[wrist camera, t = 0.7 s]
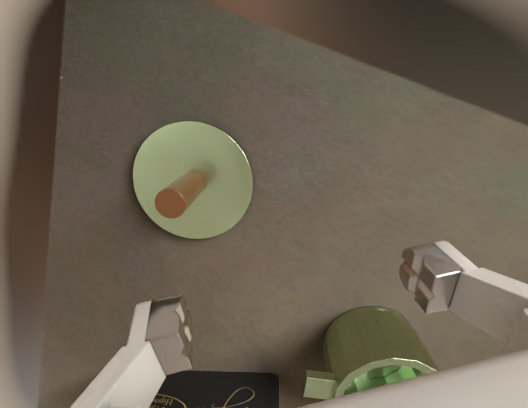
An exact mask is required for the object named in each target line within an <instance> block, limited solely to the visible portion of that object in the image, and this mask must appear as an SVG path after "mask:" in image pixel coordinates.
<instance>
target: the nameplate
mask: <svg viewBox="0 0 528 408" xmlns="http://www.w3.org/2000/svg"><path fill="white" fill-rule="evenodd" d="M149 408H279V380H278V377H277V376H276V375H275V374H272V373H245V372H206V371H181V372H177V373H173V374H169V375H166V378H165V380H164V382H163V383H162V385H161V387H160V389H159V391H158V392H157V394H156V396H155V398H154V399H153V401H152V403H151V405H150V407H149Z"/></svg>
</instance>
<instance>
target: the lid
mask: <svg viewBox="0 0 528 408" xmlns="http://www.w3.org/2000/svg"><path fill="white" fill-rule="evenodd" d="M133 184H134V189H135V193H136V196H137V198H138V201H139V203H140V205H141V206H142V208H143V209H144V211H145V212H146V214H147V215H148V216H149V217H150V218H151V219H152V220H153V221H154V222H155V223H156V224H157V225H159V226H160V227H161V228H163V229H165V230H166V231H168V232H170V233H172V234H175V235H177V236H181V237H185V238H191V239H205V238H210V237H214V236H217V235H220V234H222V233H224V232H226V231H228V230H229V229H231V228H232V227H233V226H234V225H236V224H237V223H238V222H239V220H240V219H241V218H242V217H243V215H244V214H245V212H246V210H247V208H248V206H249V204H250V201H251V197H252V192H253V175H252V170H251V166H250V163H249V161H248V158H247V157H246V155H245V153H244V151H243V150H242V148H241V147H240V145H239V144H238V143H237V142H236V141H235V140H234V139H233V138H232V137H231V136H230V135H228V134H227V133H226V132H224V131H223V130H221V129H219V128H217V127H215V126H213V125H210V124H207V123H204V122H198V121H179V122H175V123H171V124H168V125H165V126H163V127H161V128H159V129H158V130H156V131H155V132H153V133H152V134H151V135H150V136H149V137H148V138H147V139H146V140H145V141H144V143H143V144H142V145H141V147H140V149H139V151H138V153H137V155H136V158H135V161H134V167H133Z"/></svg>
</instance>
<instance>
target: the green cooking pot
mask: <svg viewBox="0 0 528 408" xmlns="http://www.w3.org/2000/svg"><path fill="white" fill-rule="evenodd" d="M322 352H323V357H324V363H325V368H326V372H322V371H314V370H306V372H305V377H304V382H303V387H302V391H303V397H309V398H317V399H325V400H328V399H332V398H336V397H340V396H343V395H347V394H351V393H355V392H359V391H363V390H367V389H371V388H374V387H378V386H382V385H386V384H390V383H394V382H398V381H402V380H406V379H410V378H414V377H417V376H421V375H425V374H429V373H433V372H437V371H440V370H439V369H438V367H437V365H436V364H435V362H434V361H433V359H432V357H431V356H430V354H429V352H428V351H427V349H426V347H425V346H424V344H423V343H422V341H421V339H420V338H419V336H418V334H417V333H416V331H415V330H414V329H413V327H412V326H411V324H410V323H409V322H408V321H407V319H406V318H404V317H403V316H402V315H400V314H399V313H397V312H395V311H393V310H391V309H387V308H383V307H376V306H367V307H360V308H356V309H353V310H350V311H348V312H346V313H344V314H342V315H341V316H339V317H338V318H337V319H336V320H335V321H333V323H332V324H331V325H330V326H329V328H328V329H327V331H326V333H325V335H324V339H323V349H322Z"/></svg>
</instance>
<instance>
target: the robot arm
mask: <svg viewBox="0 0 528 408" xmlns="http://www.w3.org/2000/svg"><path fill="white" fill-rule="evenodd" d="M402 257H403V259H404V260H405V261H404V262H403V263H402V264H401V265H400V271H399V273H400V278H401V281H402V283H403V285H404V286H405V288H406V289H407V290H408V291H410V292H412V293H414V294H415V300H416V302H417V303H418V304H419V305H420V307H421V308H422V309H423V310H424V312H425V313H426V314H429V313H434V312H439V311H444V310H448V309H449V311H450V312H452V313H453V314H455V315H457V316H458V317H460V318H462V319H463V320H465V321H467V322H468V323H470V324H472V325H473V326H475V327H477V328H478V329H480V330H482V331H483V332H485V333H487V334H488V335H490V336H491V337H493V338H495V339H496V340H498V341H500V342H501V343H503V344H505V347H504V349H503V351H502V353H501V355H499V356H496V357H492V358H488V359H484V360H480V361H476V362H472V363H468V364H464V365H460V366H457V367H453V368H449V369H445V370H441V371H437V372H433V373H429V374H425V375H421V376H417V377H414V378H410V379H406V380H402V381H398V382H394V383H390V384H386V385H382V386H378V387H374V388H371V389H367V390H363V391H359V392H355V393H351V394H347V395H343V396H340V397H336V398H332V399H328V400H324V401H320V402H316V403H312V404H308V405H305V406H301V407H297V408H528V284H525V283H523V282H520V281H517V280H515V279H512V278H509V277H506V276H504V275H501V274H498V273H496V272H493V271H490V270H488V269H485V268H477V267H476V266H475V265H474V264H473V263H472V262H471V261H469V260H468V259H467V258H466V257H465V256H464V255H462V254H461V253H460V252H459V251H458V250H457V249H456V248H454V247H453V246H452V245H451V244H450V243H449V242H447V241H445V240H441V241H437V242H432V243H428V244H423V245H418V246H414V247H409V248H405V249H404V251H403V254H402ZM191 340H192V322H191V317H190V313H189V311H188V310H186V301H185V299H184V296H183V295H177V296H172V297H166V298H161V299H155V300H152V301H146V302H141V303H137V305H136V306H135V309H134V314H133V318H132V323H131V327H130V332H129V336H128V341H127V345H126V346H123V347H121V348H120V350H119V351H118V352H117V353H116V354H115V355H114V357H113V358H112V359H111V360H110V361H109V362H108V364H107V365H106V366H105V367H104V368H103V369H102V370H101V372H100V373H99V374H98V375H97V376H96V377H95V379H94V380H93V381H92V382H91V383H90V384H89V386H88V387H87V388H86V389H85V390H84V391H83V393H82V394H81V395H80V396H79V397H78V398H77V400H76V401H75V402H74V403H73V404H72V405H71V407H70V408H149V407H150V405H151V403H152V401H153V399H154V398H155V396H156V394H157V392H158V391H159V389H160V387H161V385H162V383H163V382H164V380H165V378H166V375H169V374H173V373H177V372H181V371H185V370H189V369H192V348H191V345H190V341H191Z"/></svg>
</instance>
